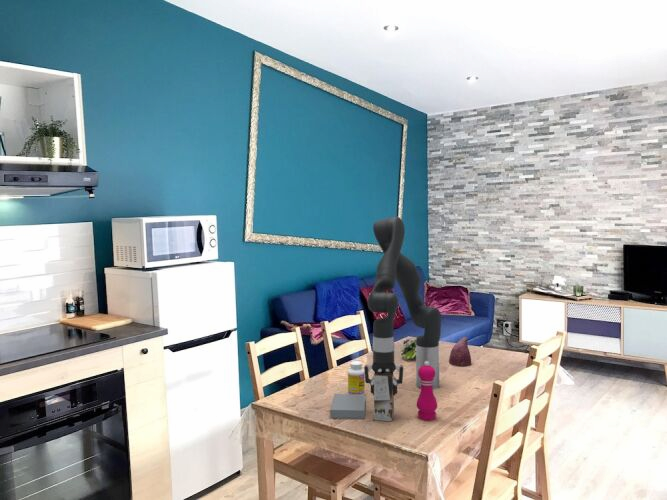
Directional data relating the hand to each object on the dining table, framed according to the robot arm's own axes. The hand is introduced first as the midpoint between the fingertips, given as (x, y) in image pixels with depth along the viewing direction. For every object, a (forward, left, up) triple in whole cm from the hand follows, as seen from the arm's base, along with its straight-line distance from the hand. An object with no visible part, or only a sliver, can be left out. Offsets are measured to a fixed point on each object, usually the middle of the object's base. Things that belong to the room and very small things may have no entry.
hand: (383, 394), depth 180 cm
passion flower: (-14, -73, -8) cm, 75 cm away
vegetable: (-36, -65, -8) cm, 75 cm away
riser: (+13, -5, -8) cm, 16 cm away
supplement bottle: (+11, -21, -8) cm, 25 cm away
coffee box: (0, 0, -8) cm, 8 cm away
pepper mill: (-15, 0, -8) cm, 17 cm away
